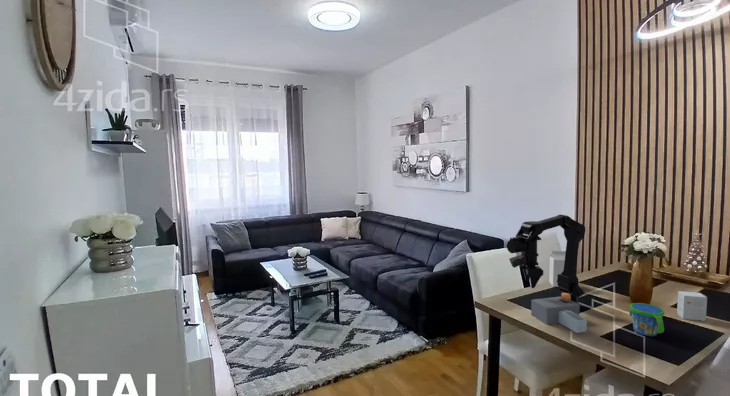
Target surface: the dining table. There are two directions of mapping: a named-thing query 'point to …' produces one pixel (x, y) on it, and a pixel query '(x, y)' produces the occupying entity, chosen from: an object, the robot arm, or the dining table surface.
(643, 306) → the snack cup
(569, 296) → the plunger
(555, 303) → the block
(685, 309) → the small box
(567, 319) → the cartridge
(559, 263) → the milk carton
